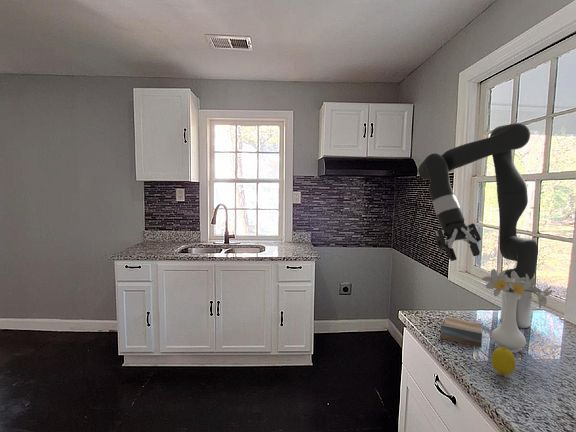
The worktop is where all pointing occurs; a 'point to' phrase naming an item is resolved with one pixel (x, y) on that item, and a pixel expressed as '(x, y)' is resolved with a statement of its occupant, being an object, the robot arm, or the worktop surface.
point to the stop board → (462, 331)
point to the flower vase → (512, 306)
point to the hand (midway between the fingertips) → (465, 258)
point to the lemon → (503, 361)
